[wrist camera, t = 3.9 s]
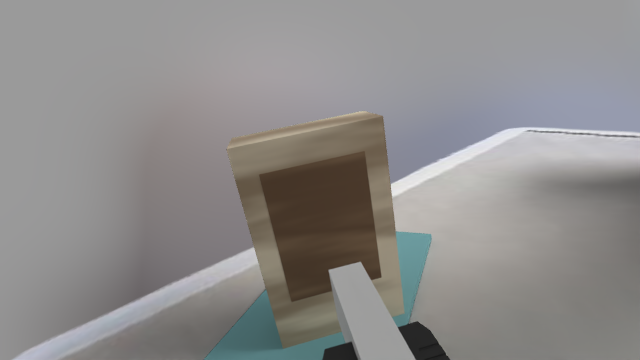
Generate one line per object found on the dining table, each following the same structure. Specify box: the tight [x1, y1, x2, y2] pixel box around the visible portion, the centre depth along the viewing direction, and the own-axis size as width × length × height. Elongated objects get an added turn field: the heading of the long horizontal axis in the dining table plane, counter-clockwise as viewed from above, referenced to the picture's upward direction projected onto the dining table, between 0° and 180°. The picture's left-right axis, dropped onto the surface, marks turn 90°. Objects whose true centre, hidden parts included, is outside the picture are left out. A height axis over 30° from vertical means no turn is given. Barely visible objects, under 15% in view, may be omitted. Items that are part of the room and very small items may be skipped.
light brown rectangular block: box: [227, 111, 405, 349], centre depth 24 cm, size 4×10×16 cm, turn 100°
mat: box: [204, 232, 432, 360], centre depth 28 cm, size 26×14×1 cm, turn 154°
